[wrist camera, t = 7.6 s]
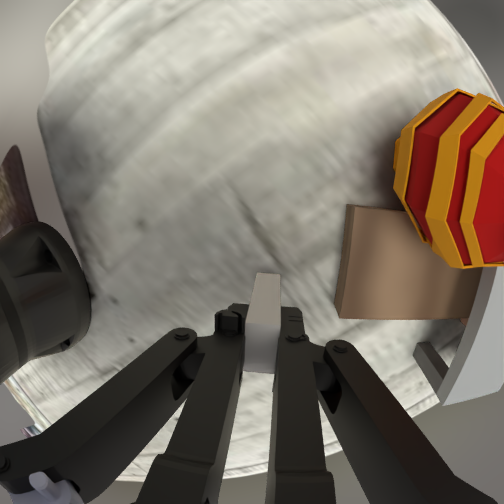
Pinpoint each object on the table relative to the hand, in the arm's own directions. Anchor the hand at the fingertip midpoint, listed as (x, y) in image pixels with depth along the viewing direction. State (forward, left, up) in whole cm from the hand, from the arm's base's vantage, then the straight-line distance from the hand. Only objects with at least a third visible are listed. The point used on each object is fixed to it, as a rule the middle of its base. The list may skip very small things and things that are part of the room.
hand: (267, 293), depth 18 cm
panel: (+12, +2, -4) cm, 13 cm away
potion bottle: (+11, +10, -3) cm, 15 cm away
